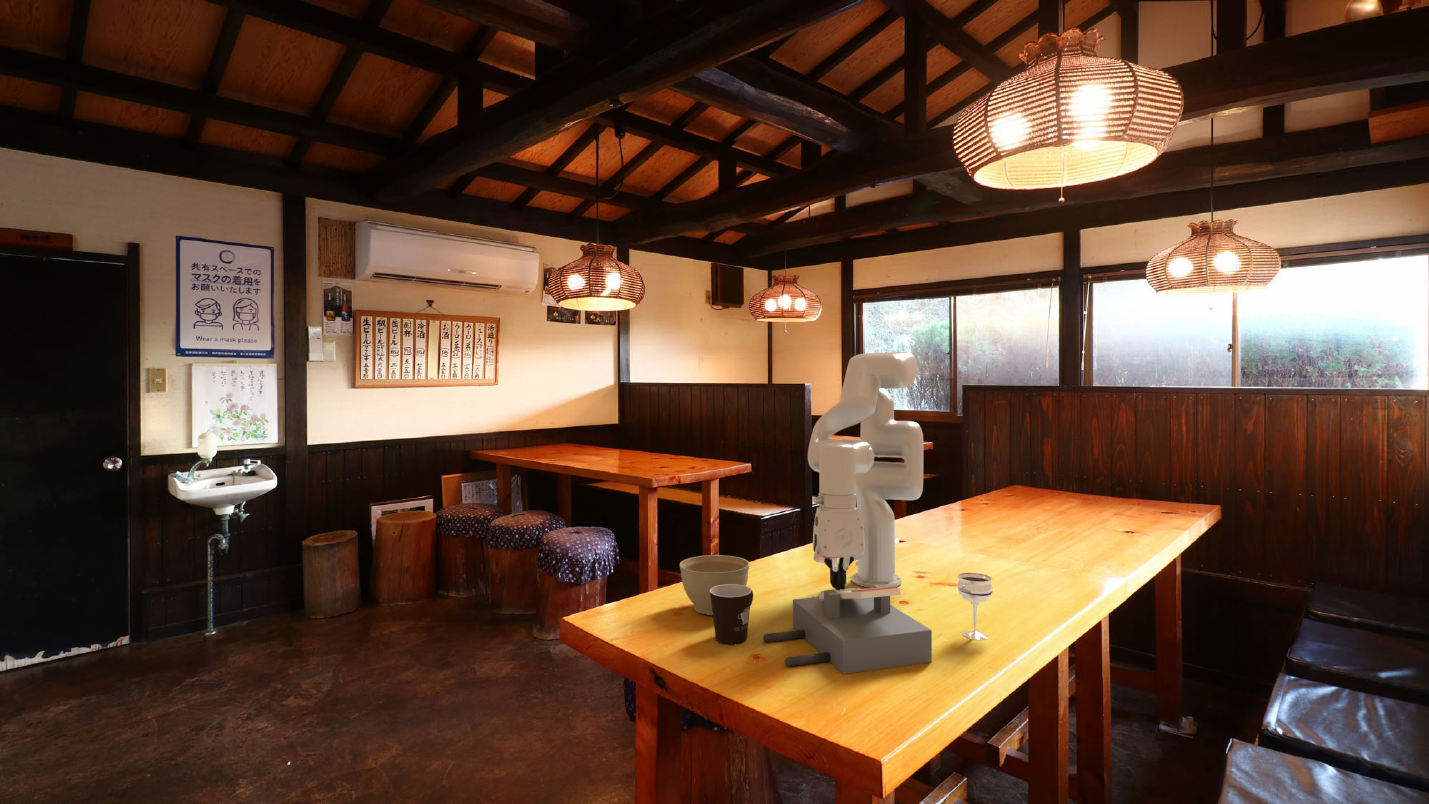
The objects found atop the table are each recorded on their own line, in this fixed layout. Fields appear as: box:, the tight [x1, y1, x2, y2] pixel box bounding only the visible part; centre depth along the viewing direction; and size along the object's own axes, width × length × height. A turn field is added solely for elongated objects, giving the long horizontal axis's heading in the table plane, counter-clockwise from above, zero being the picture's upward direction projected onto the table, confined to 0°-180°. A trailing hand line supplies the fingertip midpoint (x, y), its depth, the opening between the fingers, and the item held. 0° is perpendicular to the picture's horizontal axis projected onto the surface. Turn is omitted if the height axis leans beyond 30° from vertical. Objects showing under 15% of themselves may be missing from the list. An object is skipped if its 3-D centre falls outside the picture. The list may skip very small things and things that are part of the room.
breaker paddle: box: [818, 586, 902, 600], centre depth 130 cm, size 20×8×2 cm, turn 15°
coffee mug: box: [710, 584, 754, 646], centre depth 134 cm, size 12×9×10 cm
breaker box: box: [762, 585, 933, 675], centre depth 129 cm, size 24×27×11 cm
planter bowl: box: [679, 554, 750, 616], centre depth 152 cm, size 16×16×11 cm
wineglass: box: [956, 572, 993, 641], centre depth 134 cm, size 7×7×12 cm
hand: (838, 588), depth 138 cm, fingers closed
